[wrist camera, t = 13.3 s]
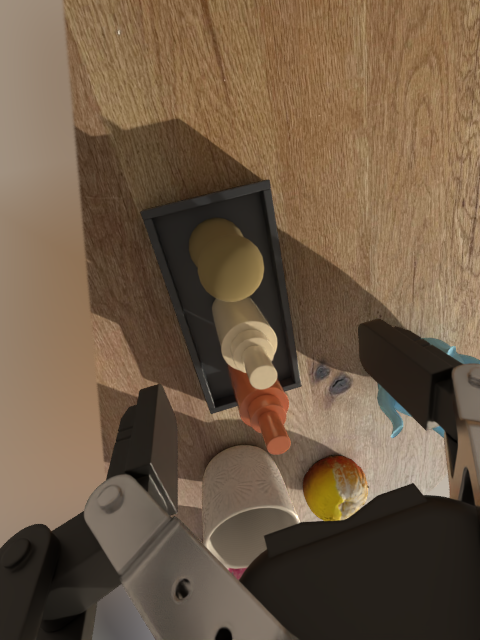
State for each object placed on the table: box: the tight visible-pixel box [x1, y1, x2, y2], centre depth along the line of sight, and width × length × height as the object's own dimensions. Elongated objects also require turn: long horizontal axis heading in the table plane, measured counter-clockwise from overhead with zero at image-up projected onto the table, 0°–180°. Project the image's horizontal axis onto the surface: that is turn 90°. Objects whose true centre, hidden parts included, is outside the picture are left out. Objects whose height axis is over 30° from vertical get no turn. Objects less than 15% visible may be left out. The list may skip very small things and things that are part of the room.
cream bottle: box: [212, 296, 277, 389], centre depth 28 cm, size 5×5×14 cm
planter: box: [202, 445, 300, 569], centre depth 42 cm, size 12×12×11 cm
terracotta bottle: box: [227, 364, 291, 455], centre depth 32 cm, size 5×5×14 cm
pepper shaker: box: [189, 218, 264, 302], centre depth 26 cm, size 6×6×11 cm
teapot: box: [377, 338, 480, 438], centre depth 40 cm, size 13×13×10 cm
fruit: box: [303, 455, 369, 521], centre depth 49 cm, size 11×10×8 cm
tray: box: [140, 180, 302, 414], centre depth 34 cm, size 26×13×2 cm, turn 12°
